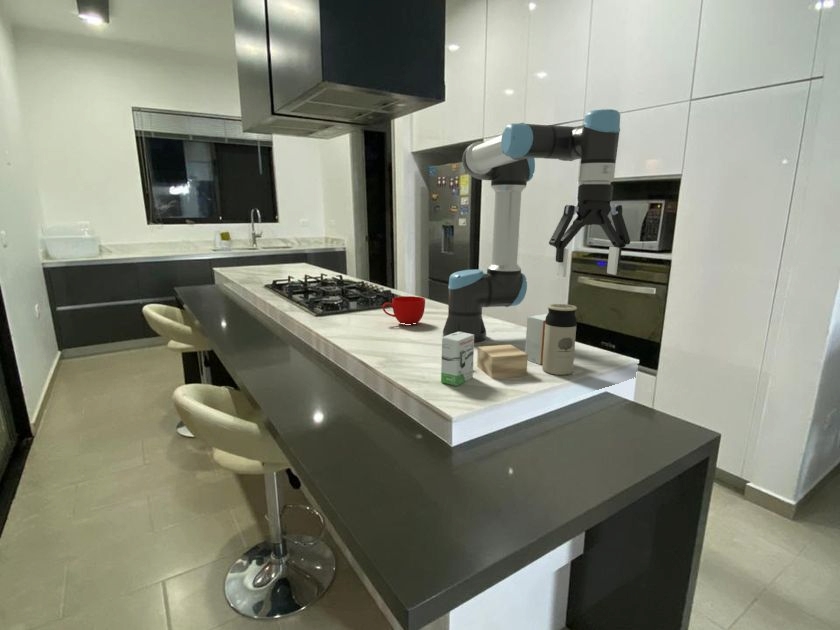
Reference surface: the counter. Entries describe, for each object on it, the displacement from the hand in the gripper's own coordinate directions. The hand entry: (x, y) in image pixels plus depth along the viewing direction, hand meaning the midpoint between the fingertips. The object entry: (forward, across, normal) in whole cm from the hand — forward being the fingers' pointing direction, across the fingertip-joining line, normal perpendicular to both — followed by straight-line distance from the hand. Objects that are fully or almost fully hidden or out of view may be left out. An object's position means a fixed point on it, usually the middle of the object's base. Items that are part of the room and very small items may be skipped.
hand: (586, 275), depth 108 cm
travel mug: (+28, -1, +8) cm, 29 cm away
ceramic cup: (+31, -31, +72) cm, 84 cm away
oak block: (+28, -16, +11) cm, 34 cm away
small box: (+28, 0, +18) cm, 33 cm away
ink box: (+27, -30, +7) cm, 41 cm away
